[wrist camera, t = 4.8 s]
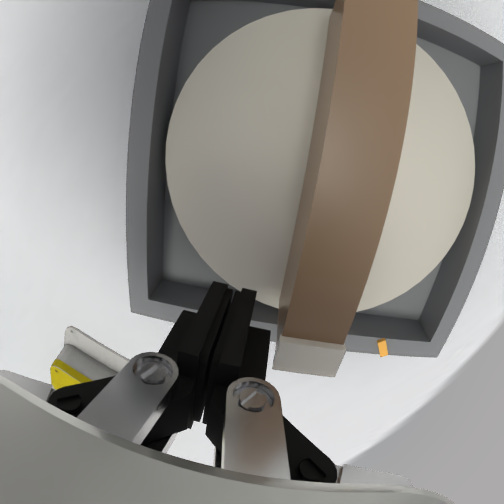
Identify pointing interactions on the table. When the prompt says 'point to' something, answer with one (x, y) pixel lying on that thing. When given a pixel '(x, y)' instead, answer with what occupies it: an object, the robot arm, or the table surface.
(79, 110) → the table surface
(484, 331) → the table surface
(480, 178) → the dial housing
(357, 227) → the dial
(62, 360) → the emergency button
